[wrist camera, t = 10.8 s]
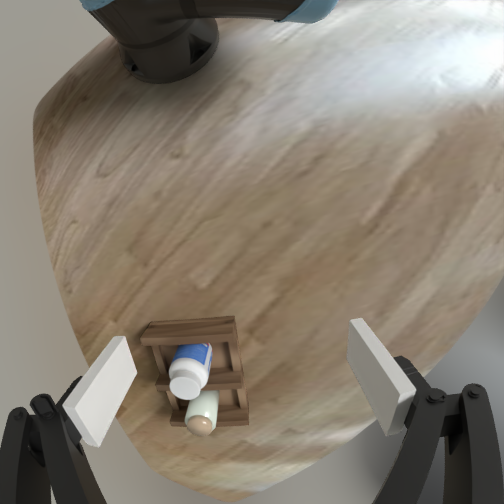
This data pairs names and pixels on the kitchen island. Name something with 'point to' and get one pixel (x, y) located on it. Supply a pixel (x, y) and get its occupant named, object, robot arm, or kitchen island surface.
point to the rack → (221, 370)
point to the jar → (202, 413)
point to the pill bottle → (190, 370)
